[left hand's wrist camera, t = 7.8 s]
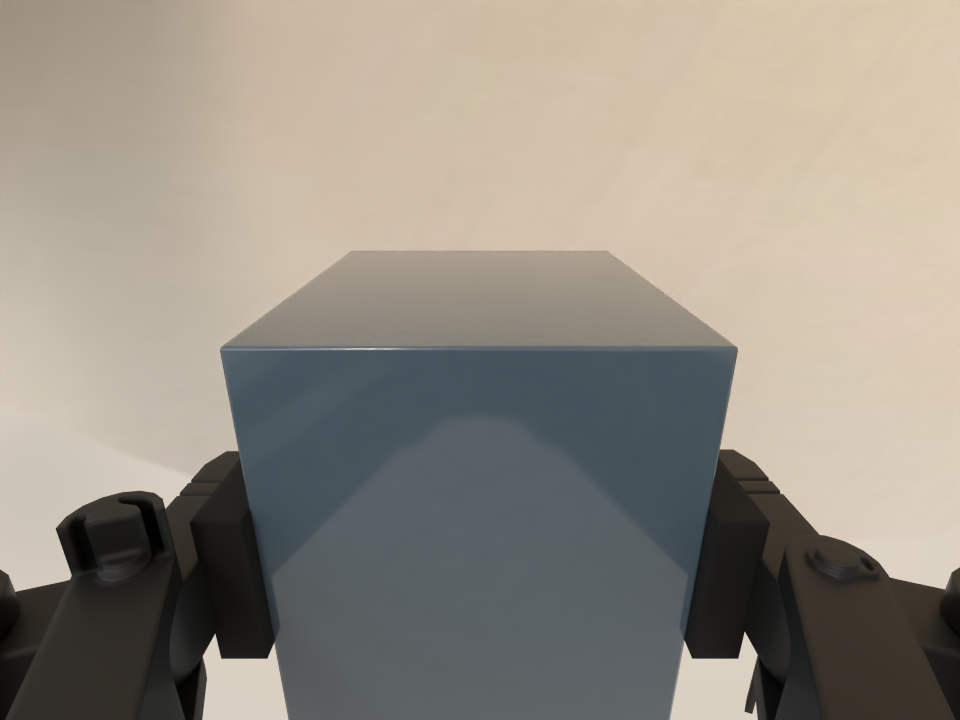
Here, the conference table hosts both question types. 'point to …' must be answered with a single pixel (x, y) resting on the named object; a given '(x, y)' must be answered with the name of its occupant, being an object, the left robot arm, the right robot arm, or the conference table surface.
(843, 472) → the conference table surface
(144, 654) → the left robot arm
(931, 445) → the conference table surface
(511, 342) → the cube
